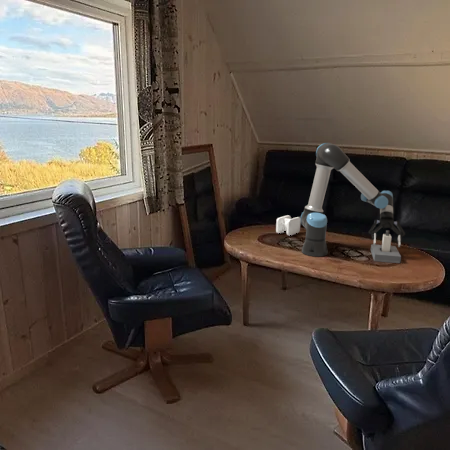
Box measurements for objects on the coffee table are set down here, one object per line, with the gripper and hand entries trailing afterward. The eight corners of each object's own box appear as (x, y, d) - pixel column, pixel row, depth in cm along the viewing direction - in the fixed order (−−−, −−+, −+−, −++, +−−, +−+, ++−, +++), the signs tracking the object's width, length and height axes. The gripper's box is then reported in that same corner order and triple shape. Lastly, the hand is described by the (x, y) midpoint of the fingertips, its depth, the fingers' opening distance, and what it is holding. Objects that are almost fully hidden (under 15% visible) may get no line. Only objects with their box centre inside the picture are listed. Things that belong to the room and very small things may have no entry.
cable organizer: (287, 237, 284) (288, 220, 281) (275, 234, 291) (275, 217, 288) (300, 232, 294) (301, 216, 291) (287, 230, 301) (288, 214, 298)
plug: (381, 255, 246) (384, 231, 242) (380, 253, 250) (383, 229, 246) (389, 256, 245) (392, 231, 241) (387, 253, 249) (390, 229, 246)
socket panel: (374, 261, 240) (374, 254, 239) (370, 250, 259) (371, 244, 258) (400, 263, 237) (401, 256, 236) (394, 252, 256) (395, 246, 255)
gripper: (407, 218, 255) (408, 249, 245) (364, 215, 260) (363, 246, 250) (409, 212, 248) (411, 243, 238) (365, 209, 254) (365, 240, 244)
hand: (386, 245), depth 244 cm, fingers open, 13 cm apart
